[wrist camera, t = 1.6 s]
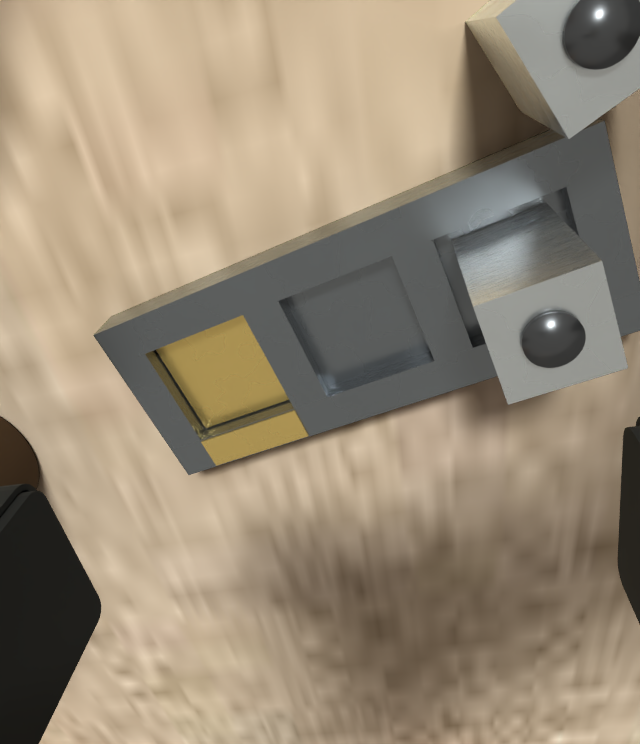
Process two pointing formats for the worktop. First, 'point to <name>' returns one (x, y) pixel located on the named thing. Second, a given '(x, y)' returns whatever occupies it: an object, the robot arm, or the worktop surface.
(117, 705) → the worktop surface
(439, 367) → the tray with square compartments
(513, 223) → the grey block with knob
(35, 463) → the olive oil
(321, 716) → the worktop surface
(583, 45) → the block with ball knob
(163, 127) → the worktop surface
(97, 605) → the robot arm
